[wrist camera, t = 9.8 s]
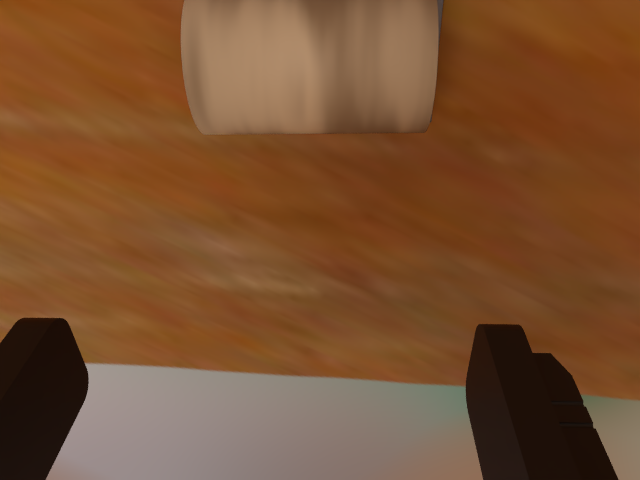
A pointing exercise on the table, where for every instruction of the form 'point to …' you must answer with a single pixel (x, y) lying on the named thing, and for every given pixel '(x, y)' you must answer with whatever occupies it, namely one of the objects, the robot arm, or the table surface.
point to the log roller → (310, 65)
